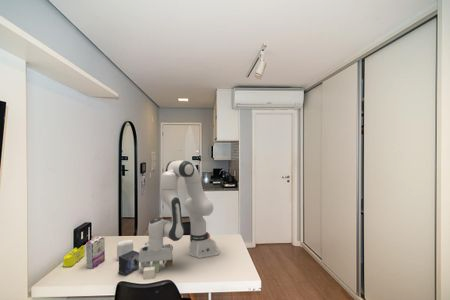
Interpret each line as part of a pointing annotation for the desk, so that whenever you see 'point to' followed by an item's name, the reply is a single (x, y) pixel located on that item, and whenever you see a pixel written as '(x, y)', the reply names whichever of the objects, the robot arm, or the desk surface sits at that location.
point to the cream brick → (149, 272)
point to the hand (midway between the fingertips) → (155, 267)
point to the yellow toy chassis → (73, 256)
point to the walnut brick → (169, 262)
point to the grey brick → (144, 264)
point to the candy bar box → (95, 252)
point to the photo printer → (124, 247)
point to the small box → (128, 263)
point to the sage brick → (156, 266)
